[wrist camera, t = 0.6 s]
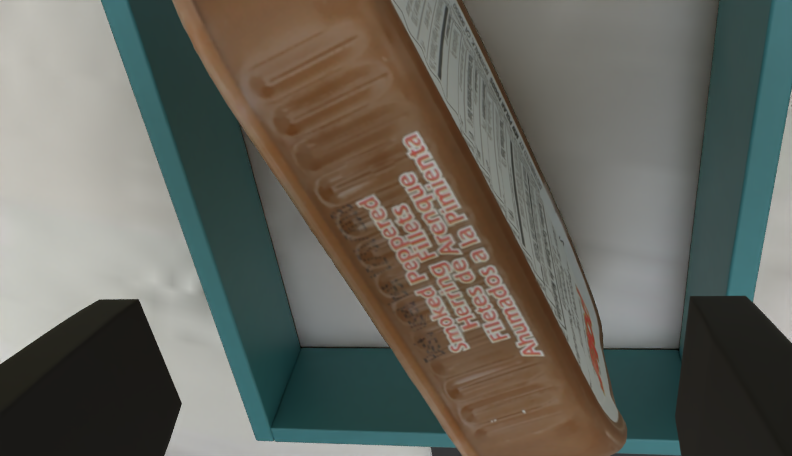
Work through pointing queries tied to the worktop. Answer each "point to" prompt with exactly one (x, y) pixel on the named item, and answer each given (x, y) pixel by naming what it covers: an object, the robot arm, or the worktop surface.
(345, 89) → the tin
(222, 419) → the worktop surface
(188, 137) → the crate
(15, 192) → the worktop surface
